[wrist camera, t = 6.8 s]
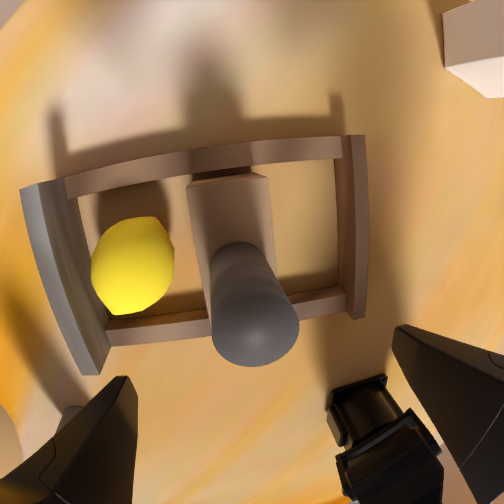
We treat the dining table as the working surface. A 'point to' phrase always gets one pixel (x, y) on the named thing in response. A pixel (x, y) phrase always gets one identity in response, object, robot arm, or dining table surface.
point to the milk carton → (476, 45)
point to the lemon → (132, 265)
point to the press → (170, 165)
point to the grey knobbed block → (241, 269)
